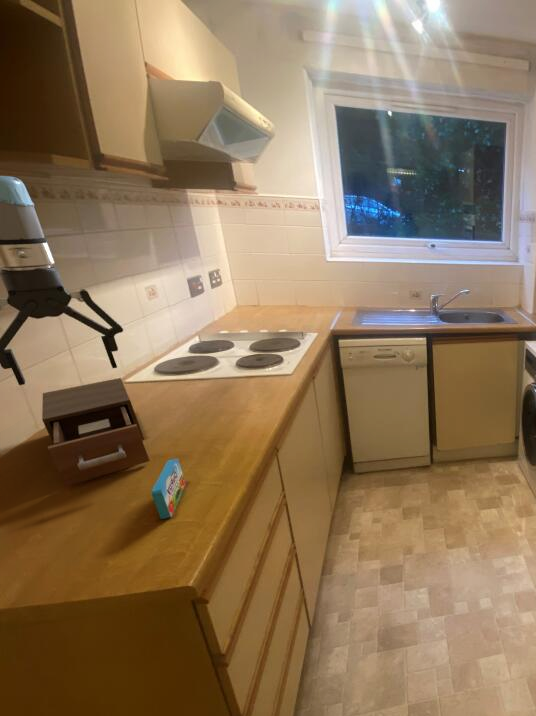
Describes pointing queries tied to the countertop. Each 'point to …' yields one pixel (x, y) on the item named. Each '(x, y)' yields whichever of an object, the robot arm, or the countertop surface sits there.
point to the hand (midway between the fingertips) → (70, 374)
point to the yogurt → (168, 488)
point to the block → (94, 428)
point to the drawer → (96, 446)
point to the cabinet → (85, 402)
